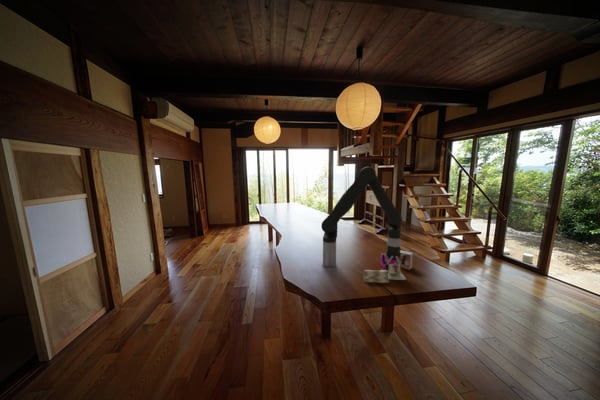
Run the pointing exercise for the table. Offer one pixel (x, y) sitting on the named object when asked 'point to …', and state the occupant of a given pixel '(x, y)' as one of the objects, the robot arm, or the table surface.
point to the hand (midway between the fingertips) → (392, 270)
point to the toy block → (385, 260)
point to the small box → (406, 260)
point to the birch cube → (394, 269)
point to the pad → (395, 276)
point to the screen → (376, 276)
